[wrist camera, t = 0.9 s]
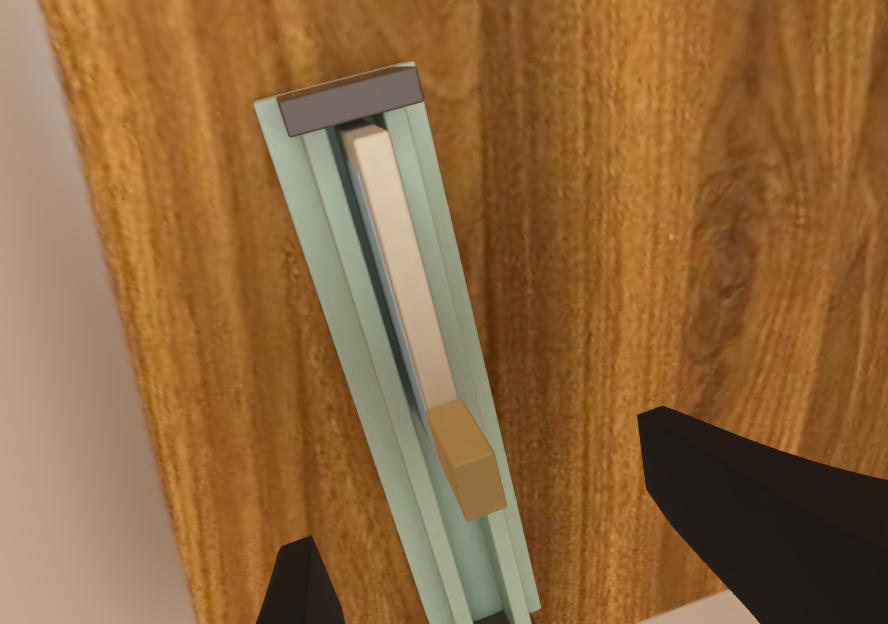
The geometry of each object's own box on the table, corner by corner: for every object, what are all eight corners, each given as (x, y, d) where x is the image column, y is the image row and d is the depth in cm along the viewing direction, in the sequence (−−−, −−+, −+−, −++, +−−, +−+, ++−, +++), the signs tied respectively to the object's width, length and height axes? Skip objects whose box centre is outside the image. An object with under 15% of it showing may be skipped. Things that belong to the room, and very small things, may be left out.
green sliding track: (530, 586, 26) (572, 669, 23) (431, 627, 26) (458, 718, 22) (405, 61, 18) (441, 58, 14) (253, 100, 17) (250, 108, 14)
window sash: (445, 411, 21) (517, 547, 15) (416, 421, 20) (478, 563, 15) (365, 115, 17) (420, 141, 11) (329, 126, 17) (364, 156, 11)
